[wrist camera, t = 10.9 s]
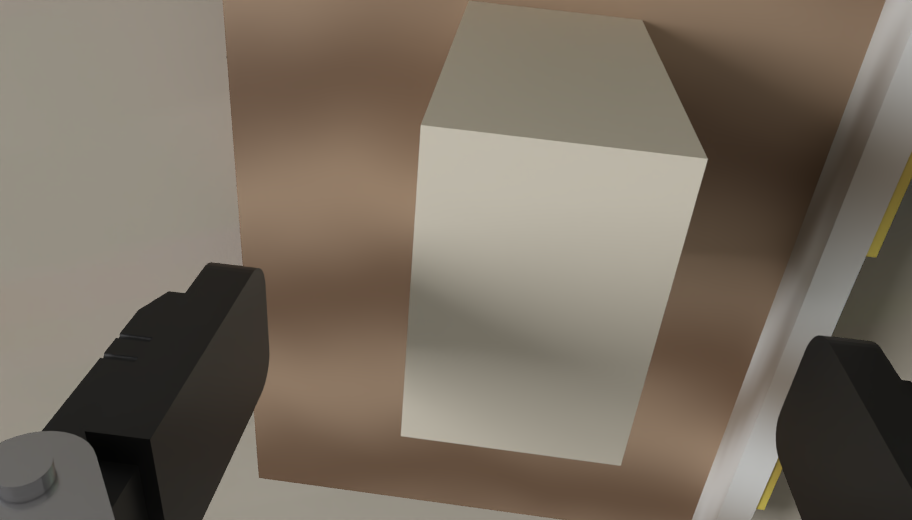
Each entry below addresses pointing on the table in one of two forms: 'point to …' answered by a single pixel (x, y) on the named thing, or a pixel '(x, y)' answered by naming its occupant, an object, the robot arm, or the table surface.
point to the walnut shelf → (697, 275)
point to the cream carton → (544, 232)
